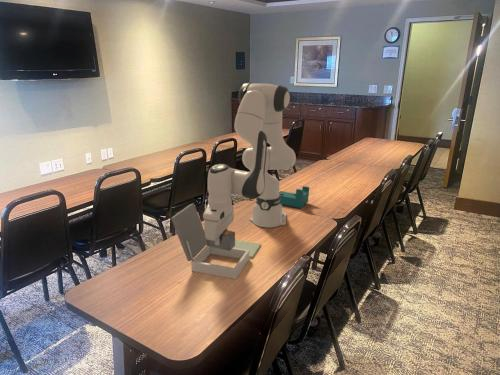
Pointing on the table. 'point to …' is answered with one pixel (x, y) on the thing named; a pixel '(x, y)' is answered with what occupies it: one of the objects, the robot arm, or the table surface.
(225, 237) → the module
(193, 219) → the case lid
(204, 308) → the table surface
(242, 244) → the sage mat
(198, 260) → the equipment case
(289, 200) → the teal l-shaped bracket
